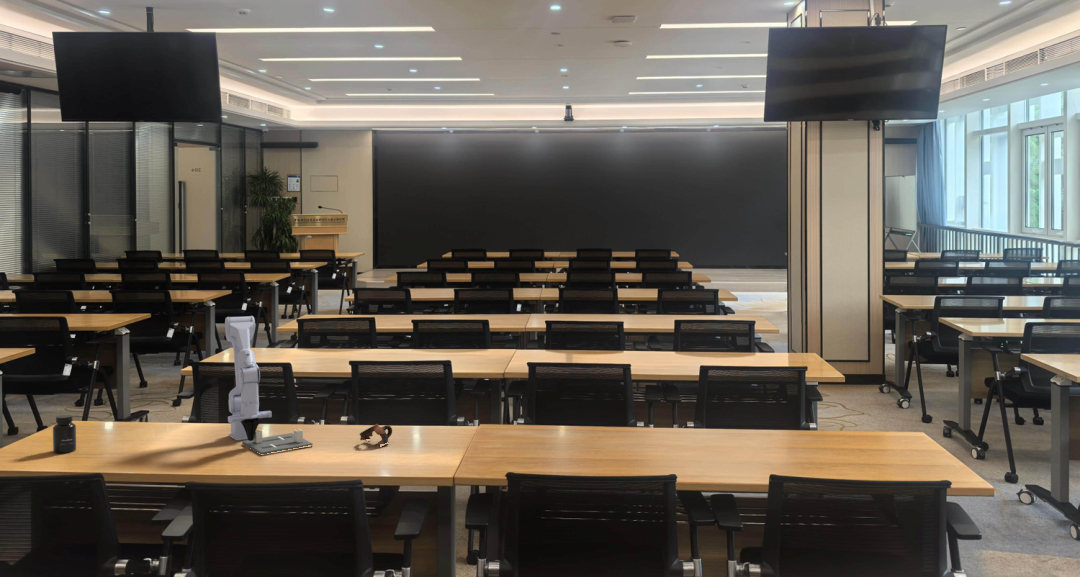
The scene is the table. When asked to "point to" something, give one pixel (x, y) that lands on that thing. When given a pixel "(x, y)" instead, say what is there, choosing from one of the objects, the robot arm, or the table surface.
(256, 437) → the fader
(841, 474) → the table surface
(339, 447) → the table surface
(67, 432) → the supplement bottle
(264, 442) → the console
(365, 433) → the brown arched piece
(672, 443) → the table surface
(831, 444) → the table surface
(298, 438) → the fader
